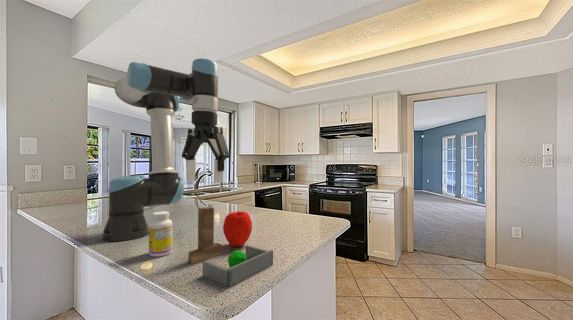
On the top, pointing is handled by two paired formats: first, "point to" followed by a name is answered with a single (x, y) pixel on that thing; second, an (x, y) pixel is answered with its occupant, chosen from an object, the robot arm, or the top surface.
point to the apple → (237, 228)
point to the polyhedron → (236, 258)
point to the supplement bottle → (160, 235)
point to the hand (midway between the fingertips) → (203, 181)
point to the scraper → (205, 237)
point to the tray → (239, 267)
